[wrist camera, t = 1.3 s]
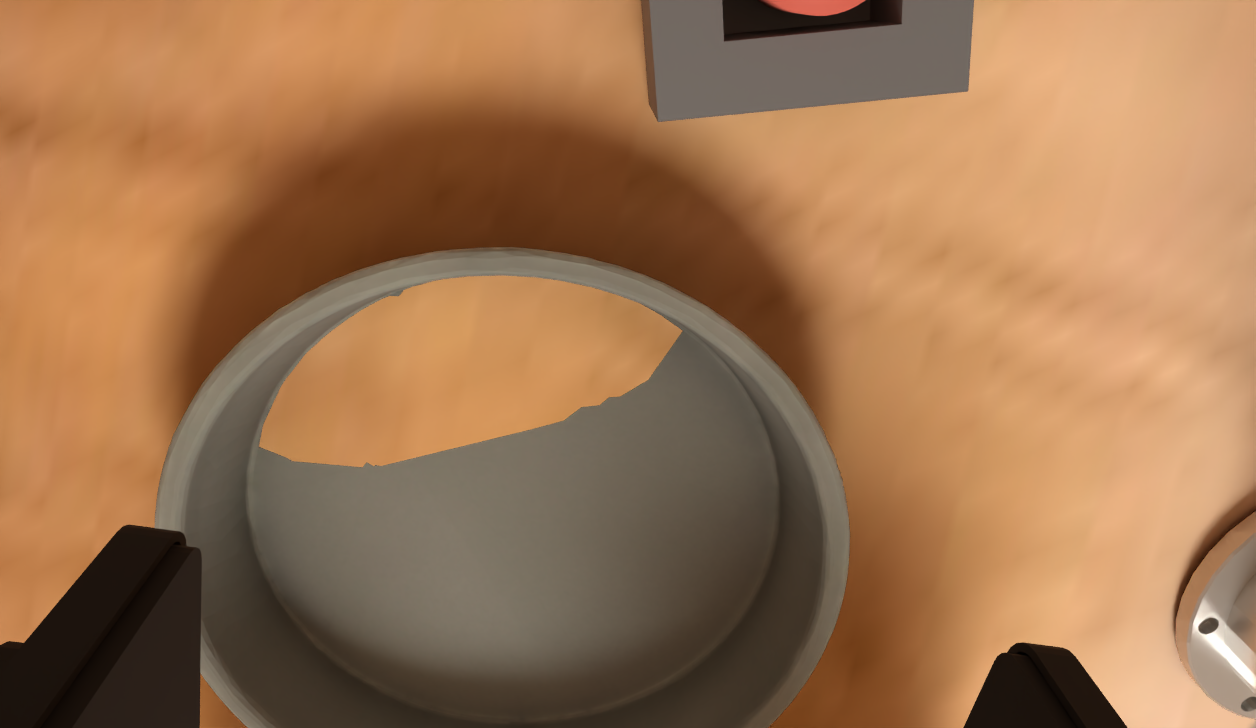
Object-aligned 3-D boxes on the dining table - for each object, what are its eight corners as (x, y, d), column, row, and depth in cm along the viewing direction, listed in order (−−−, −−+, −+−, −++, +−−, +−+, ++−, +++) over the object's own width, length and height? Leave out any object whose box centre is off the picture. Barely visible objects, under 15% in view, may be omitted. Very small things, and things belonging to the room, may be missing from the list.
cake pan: (946, 430, 35) (995, 490, 31) (608, 812, 42) (610, 902, 38) (386, 71, 28) (352, 86, 24) (107, 595, 36) (45, 675, 32)
